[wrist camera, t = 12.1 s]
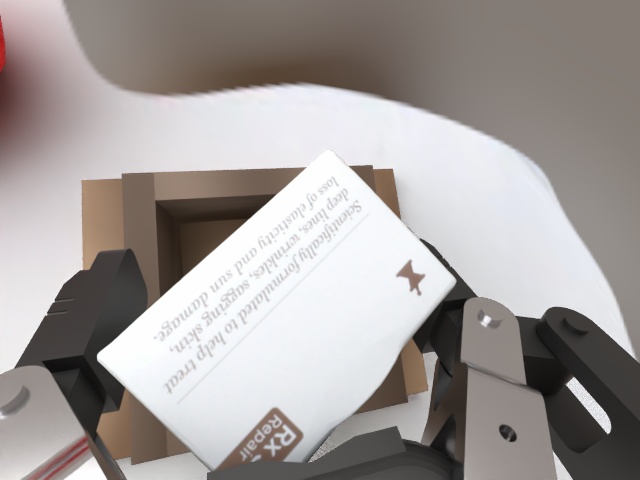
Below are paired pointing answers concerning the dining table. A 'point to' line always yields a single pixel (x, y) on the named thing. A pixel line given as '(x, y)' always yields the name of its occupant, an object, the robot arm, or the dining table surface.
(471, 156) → the dining table surface
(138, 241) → the sleeve stand
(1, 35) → the tomato
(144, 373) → the skincare box
